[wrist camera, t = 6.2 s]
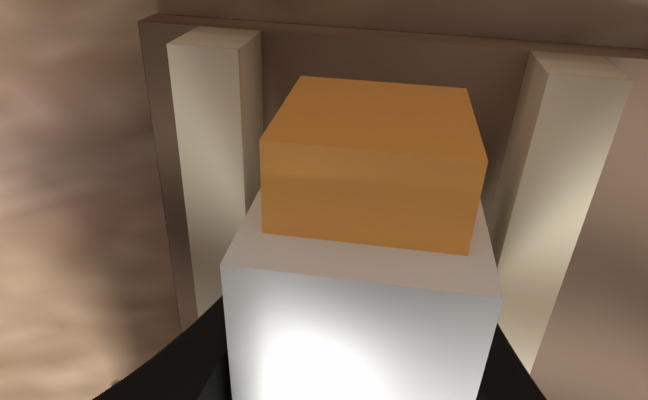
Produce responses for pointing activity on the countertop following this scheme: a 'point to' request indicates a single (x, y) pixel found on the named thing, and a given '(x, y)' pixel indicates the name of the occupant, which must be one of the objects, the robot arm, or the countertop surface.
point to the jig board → (498, 188)
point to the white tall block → (364, 249)
